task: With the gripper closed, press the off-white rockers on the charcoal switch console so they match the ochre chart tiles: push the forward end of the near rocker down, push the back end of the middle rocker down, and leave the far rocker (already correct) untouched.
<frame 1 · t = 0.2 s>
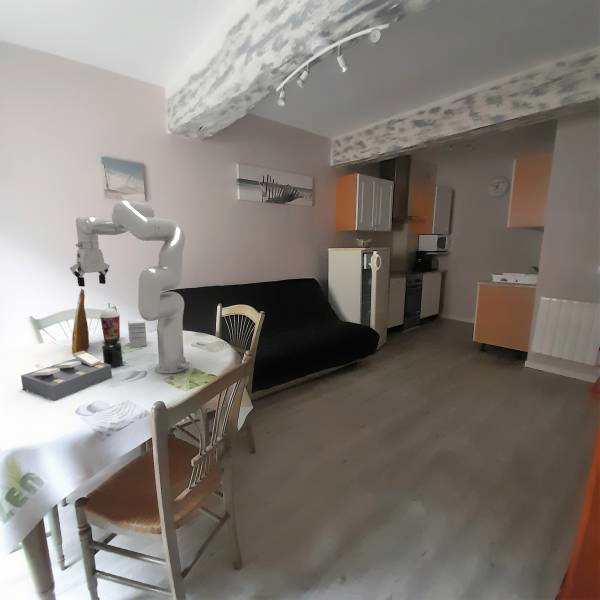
hand: (92, 284, 143), 31 cm above the table, fingers open, 9 cm apart
rocker C: (45, 371, 109), point 7 cm above the table, hinge at 13.0°
rocker B: (67, 364, 115), point 7 cm above the table, hinge at 13.0°
smoothie: (112, 342, 162), on the table
supplement bottle: (113, 365, 133), on the table
pancake mix bag: (82, 350, 150), on the table
rocker A: (86, 358, 121), point 7 cm above the table, hinge at -13.0°
supplement box: (138, 345, 158), on the table
console: (69, 382, 117), on the table
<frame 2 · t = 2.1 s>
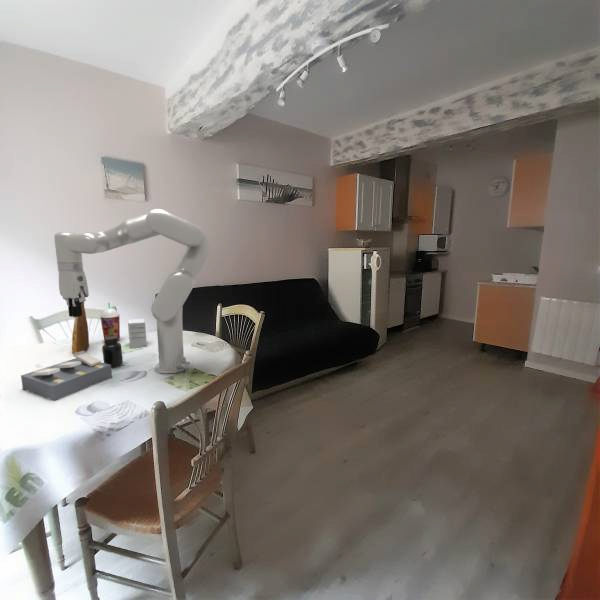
hand: (75, 315, 120), 23 cm above the table, fingers closed
nothing on the table moved.
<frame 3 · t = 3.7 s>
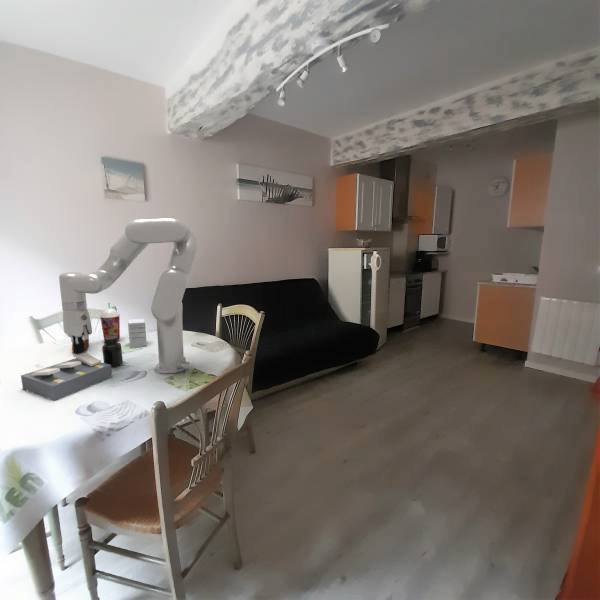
hand: (79, 352, 123), 9 cm above the table, fingers closed
rocker A: (86, 358, 121), point 7 cm above the table, hinge at -13.0°, touching gripper
everything else where it was.
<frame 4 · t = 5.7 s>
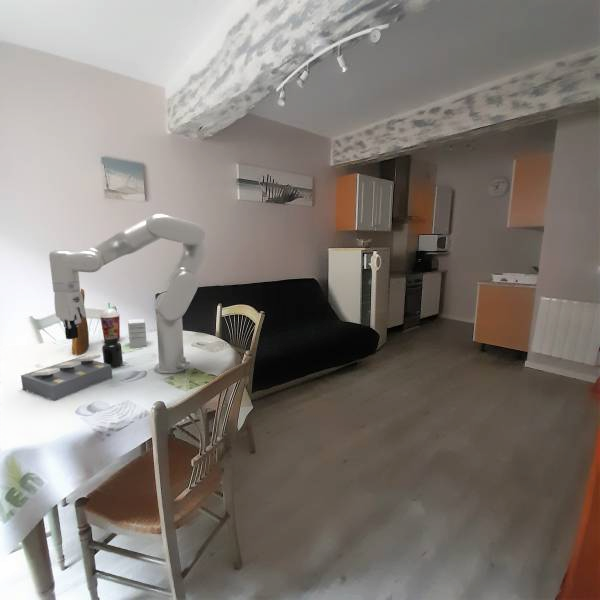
hand: (72, 338, 113), 17 cm above the table, fingers closed
rocker A: (86, 358, 122), point 7 cm above the table, hinge at 13.4°
everything else where it was.
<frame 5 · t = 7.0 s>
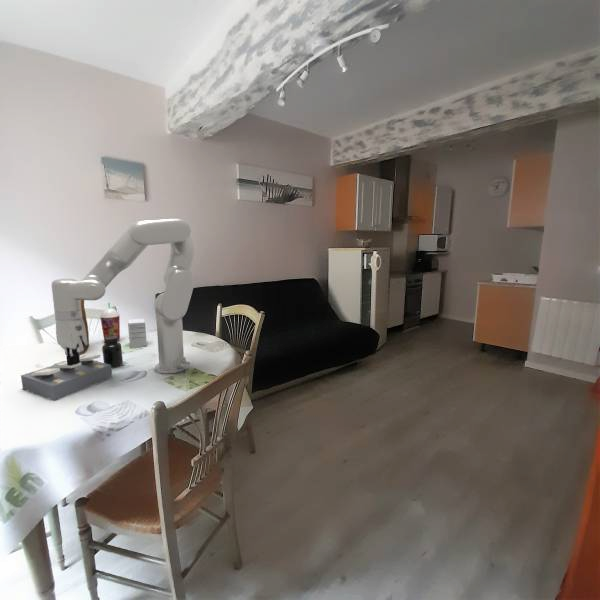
hand: (73, 365, 113), 8 cm above the table, fingers closed
rocker B: (67, 364, 115), point 7 cm above the table, hinge at 8.7°, touching gripper
rocker A: (86, 358, 122), point 7 cm above the table, hinge at 13.9°
everything else where it was.
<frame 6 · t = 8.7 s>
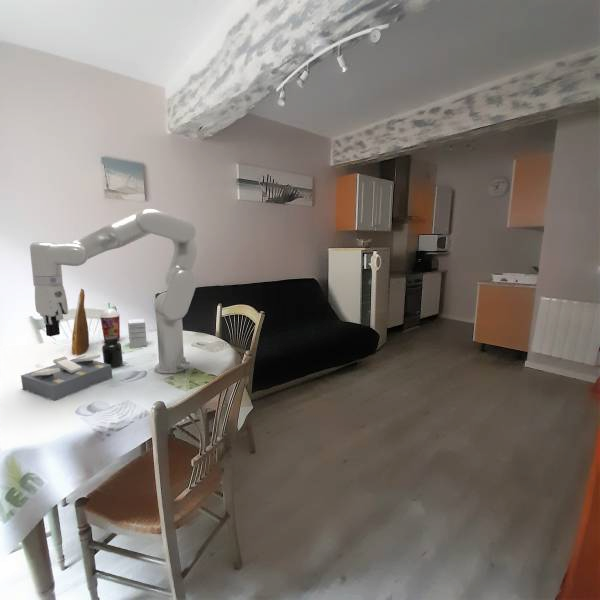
hand: (53, 335, 108), 20 cm above the table, fingers closed
rocker B: (67, 364, 115), point 7 cm above the table, hinge at -12.0°
everything else where it was.
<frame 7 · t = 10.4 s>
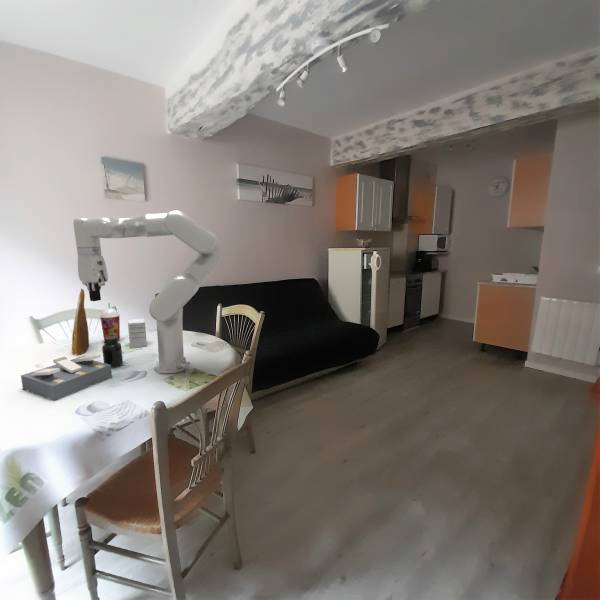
hand: (95, 300, 123), 28 cm above the table, fingers closed
rocker B: (67, 364, 115), point 7 cm above the table, hinge at -12.4°
everything else where it was.
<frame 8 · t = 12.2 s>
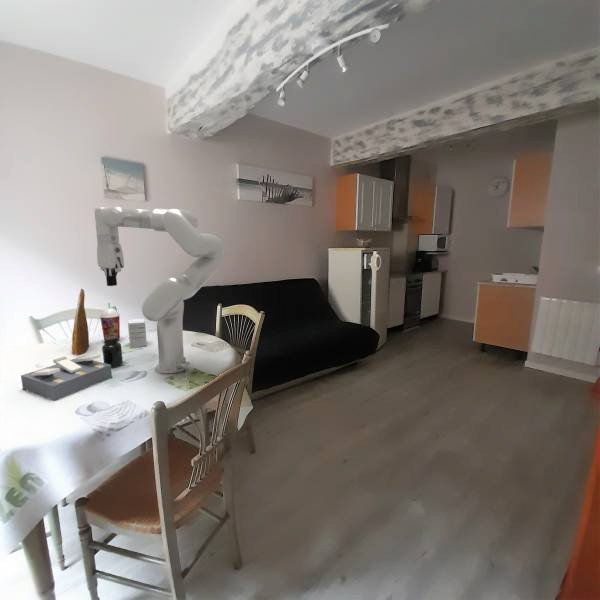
hand: (112, 285, 130), 33 cm above the table, fingers closed
nothing on the table moved.
at the end: rocker A at +14° (first picture: -13°); rocker B at -12° (first picture: +13°); rocker C at +13° (first picture: +13°) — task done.
